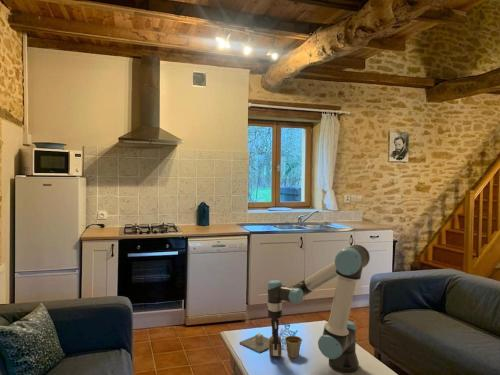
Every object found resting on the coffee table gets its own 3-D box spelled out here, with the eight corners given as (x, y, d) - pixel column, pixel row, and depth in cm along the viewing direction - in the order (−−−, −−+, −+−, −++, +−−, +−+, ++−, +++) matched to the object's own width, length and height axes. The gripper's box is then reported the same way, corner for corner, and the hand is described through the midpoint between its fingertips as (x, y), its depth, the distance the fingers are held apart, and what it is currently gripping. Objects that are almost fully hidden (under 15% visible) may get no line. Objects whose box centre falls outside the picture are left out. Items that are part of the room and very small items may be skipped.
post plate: (278, 344, 213) (278, 335, 213) (259, 353, 202) (259, 343, 202) (258, 335, 224) (258, 327, 224) (239, 343, 213) (239, 334, 213)
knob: (280, 350, 201) (280, 335, 201) (281, 355, 195) (281, 340, 195) (269, 350, 201) (269, 335, 201) (269, 355, 195) (269, 340, 195)
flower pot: (301, 360, 195) (301, 344, 195) (283, 358, 197) (283, 342, 197) (302, 352, 204) (302, 336, 204) (285, 350, 206) (285, 335, 206)
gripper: (267, 303, 207) (267, 344, 207) (268, 315, 188) (269, 360, 188) (280, 303, 207) (280, 344, 207) (283, 315, 188) (283, 360, 188)
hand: (275, 352), depth 198 cm, fingers closed on knob, 6 cm apart
